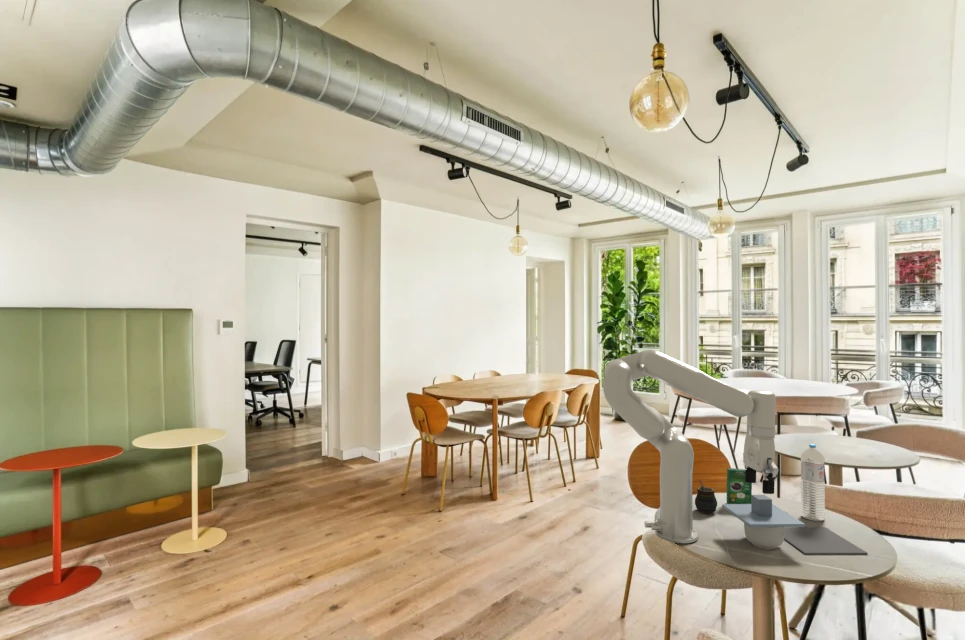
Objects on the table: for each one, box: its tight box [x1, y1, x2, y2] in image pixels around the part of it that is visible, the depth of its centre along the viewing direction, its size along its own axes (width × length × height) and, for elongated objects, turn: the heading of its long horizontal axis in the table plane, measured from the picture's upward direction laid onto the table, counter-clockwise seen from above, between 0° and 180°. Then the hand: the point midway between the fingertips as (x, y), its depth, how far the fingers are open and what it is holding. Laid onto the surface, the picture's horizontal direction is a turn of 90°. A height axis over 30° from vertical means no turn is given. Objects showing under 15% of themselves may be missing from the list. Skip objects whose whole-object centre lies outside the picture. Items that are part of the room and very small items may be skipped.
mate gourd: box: [694, 479, 718, 515], centre depth 177 cm, size 7×8×10 cm
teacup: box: [743, 522, 785, 550], centre depth 152 cm, size 14×11×8 cm
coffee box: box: [726, 467, 753, 504], centre depth 183 cm, size 8×3×13 cm, turn 75°
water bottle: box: [800, 443, 826, 522], centre depth 171 cm, size 7×7×25 cm
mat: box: [784, 526, 868, 556], centre depth 153 cm, size 18×18×1 cm
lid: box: [721, 494, 806, 527], centre depth 152 cm, size 16×16×6 cm
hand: (759, 487), depth 152 cm, fingers open, 9 cm apart
